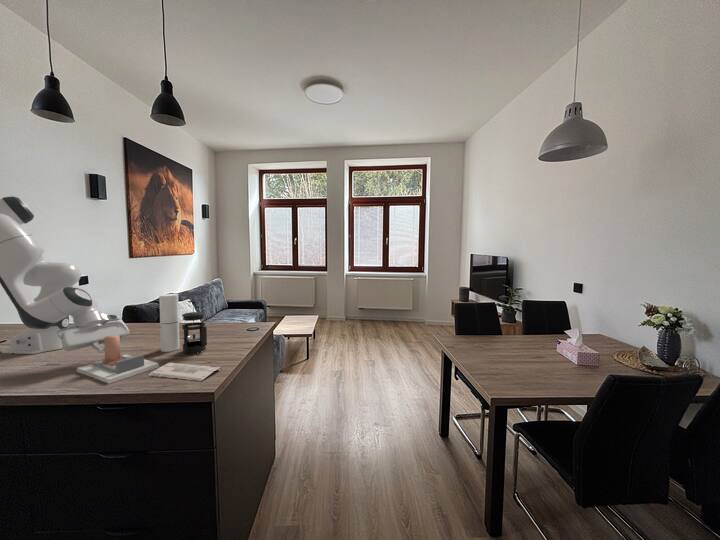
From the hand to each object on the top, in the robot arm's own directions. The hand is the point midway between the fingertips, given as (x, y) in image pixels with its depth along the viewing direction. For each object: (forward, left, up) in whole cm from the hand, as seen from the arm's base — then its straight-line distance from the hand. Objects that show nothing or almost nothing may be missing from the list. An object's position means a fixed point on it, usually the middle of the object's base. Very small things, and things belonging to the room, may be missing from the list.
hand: (104, 351), depth 113 cm
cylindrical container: (+16, +17, -6) cm, 24 cm away
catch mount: (+8, -5, -5) cm, 11 cm away
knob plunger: (+4, -3, -4) cm, 6 cm away
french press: (+28, +13, -6) cm, 31 cm away
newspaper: (+33, -11, -6) cm, 36 cm away
